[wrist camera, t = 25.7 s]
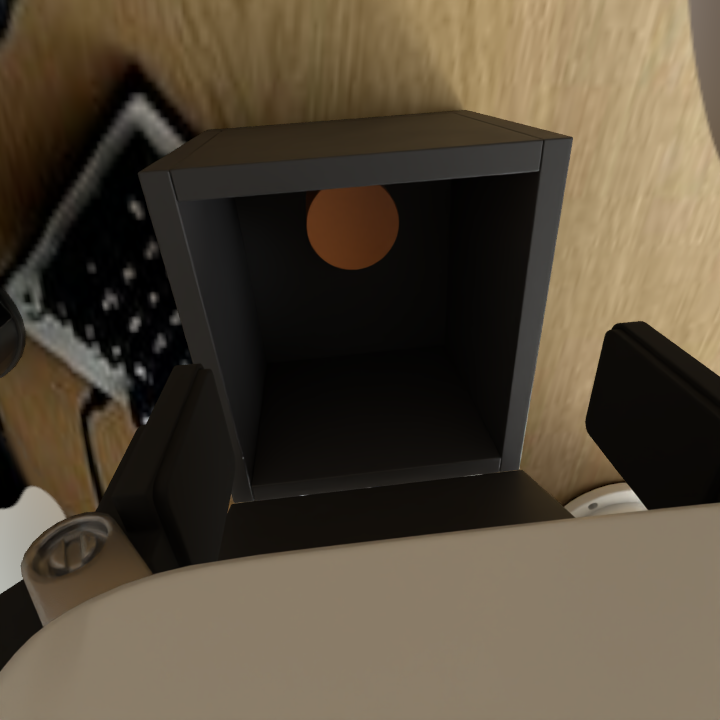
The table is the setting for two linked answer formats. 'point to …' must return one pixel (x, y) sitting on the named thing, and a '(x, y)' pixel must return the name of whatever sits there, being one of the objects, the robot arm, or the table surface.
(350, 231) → the orange cylinder
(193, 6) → the table surface
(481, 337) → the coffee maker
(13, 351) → the french press
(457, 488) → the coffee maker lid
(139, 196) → the table surface
